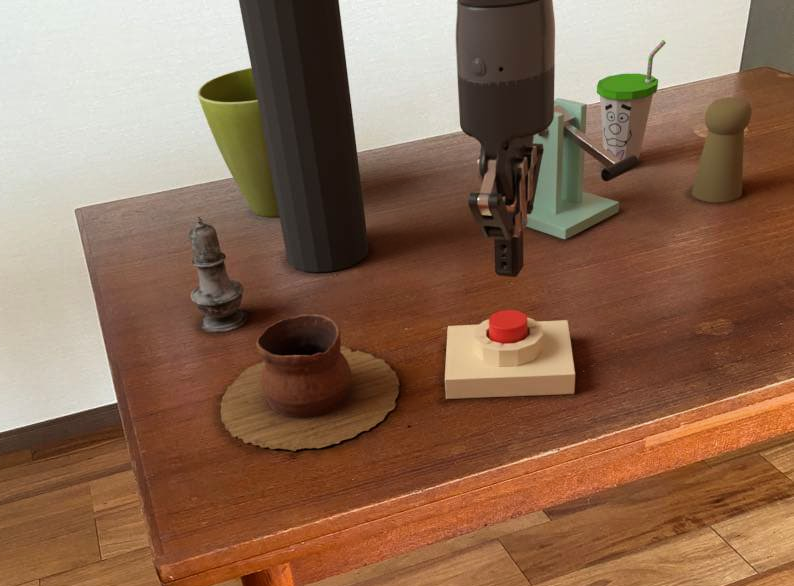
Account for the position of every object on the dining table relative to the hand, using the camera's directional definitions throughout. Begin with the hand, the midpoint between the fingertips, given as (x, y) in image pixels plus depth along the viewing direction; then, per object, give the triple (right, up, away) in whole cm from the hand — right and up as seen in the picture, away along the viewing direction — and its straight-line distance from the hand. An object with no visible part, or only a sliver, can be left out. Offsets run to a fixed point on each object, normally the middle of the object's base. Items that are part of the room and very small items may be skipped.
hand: (509, 272), depth 80 cm
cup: (+21, +28, +43) cm, 55 cm away
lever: (+12, +21, +24) cm, 35 cm away
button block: (+1, -7, +7) cm, 10 cm away
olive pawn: (+31, +20, +32) cm, 49 cm away
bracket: (+10, +17, +32) cm, 38 cm away
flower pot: (-26, +22, +43) cm, 55 cm away
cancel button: (+1, -5, +5) cm, 7 cm away
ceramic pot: (-19, -10, +7) cm, 22 cm away
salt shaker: (-30, +1, +20) cm, 36 cm away
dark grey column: (-19, +11, +30) cm, 37 cm away
